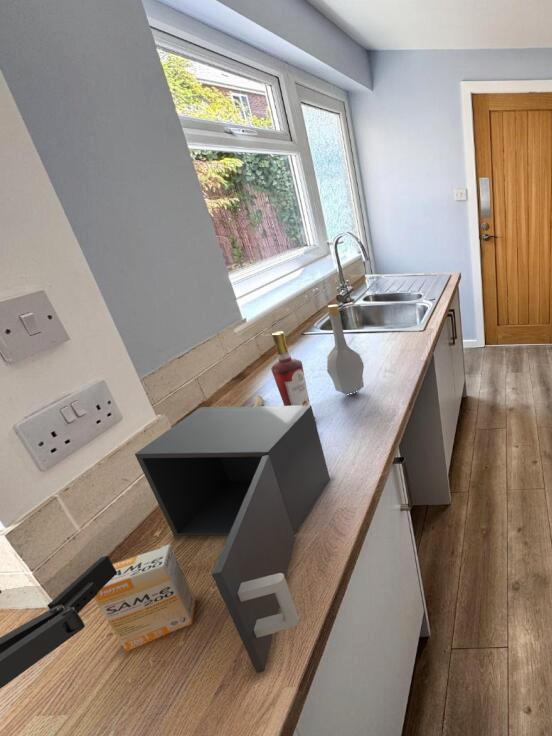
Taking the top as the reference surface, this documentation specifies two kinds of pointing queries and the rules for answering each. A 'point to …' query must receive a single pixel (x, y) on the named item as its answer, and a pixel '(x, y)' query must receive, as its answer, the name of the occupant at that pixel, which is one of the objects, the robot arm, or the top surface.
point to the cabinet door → (258, 566)
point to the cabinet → (233, 465)
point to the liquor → (289, 375)
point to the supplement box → (147, 597)
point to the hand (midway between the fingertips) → (51, 574)
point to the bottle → (343, 359)
